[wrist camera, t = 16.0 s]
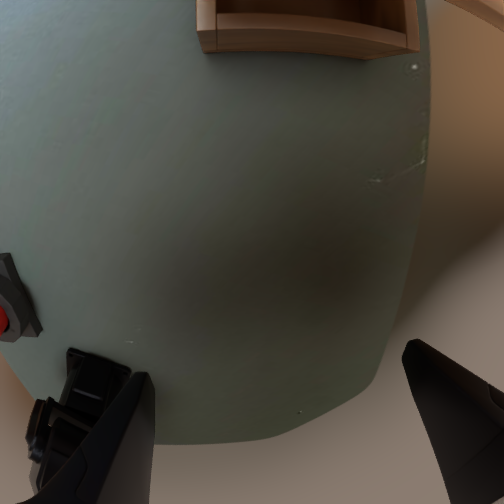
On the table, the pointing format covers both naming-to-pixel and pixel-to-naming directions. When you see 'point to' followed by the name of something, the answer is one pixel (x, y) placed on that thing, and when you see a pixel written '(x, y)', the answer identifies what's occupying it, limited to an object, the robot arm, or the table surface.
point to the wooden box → (310, 26)
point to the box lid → (484, 10)
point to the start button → (3, 320)
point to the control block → (15, 304)
